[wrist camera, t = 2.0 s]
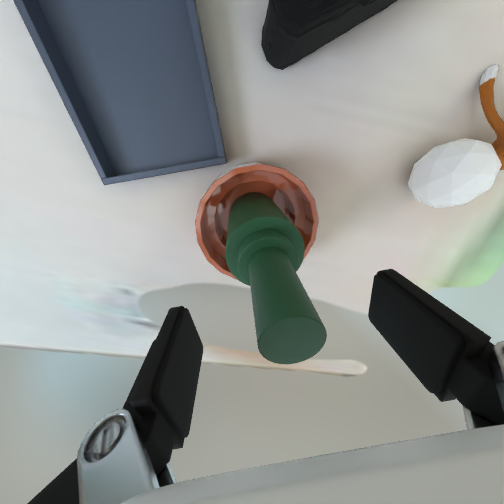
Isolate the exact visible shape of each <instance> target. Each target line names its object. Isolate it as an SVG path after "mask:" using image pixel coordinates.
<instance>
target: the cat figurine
mask: <svg viewBox="0 0 504 504" xmlns="http://www.w3.org/2000/svg"><path fill="white" fill-rule="evenodd" d="M498 68H499V65H497V64H494V65H491V66H490V67H489V68H488V69H487V70H486V71H485V72H484V73H483V75H482V77H481V80H480V86H479V92H480V100H481V105H482V108H483V111H484V114H485V116H486V118H487V120H488V122H489V124H490V125H491V127H492V128H493V129H494V131H495V132H496V134H497V140H496V141H495V142H493V143H492V144H489V143H486V142H483V141H479V140H474V139H467V138H462V139H459V140H456V141H452V142H449V143H445V144H442V145H439V146H435V147H434V148H432V149H431V150H430V151H429V152H428V153H427V154H425V155H424V156H423V157H422V158H421V159H420V160H419V161H417V162H416V163H415V164H414V166H413V169H412V172H411V175H410V178H409V181H408V186H409V188H410V190H411V192H412V194H413V196H414V198H415V200H417V201H420V202H422V203H425V204H427V205H430V206H432V207H435V208H440V207H448V206H456V205H463V204H466V203H468V202H469V201H471V200H472V199H474V198H476V197H477V196H479V195H480V194H482V193H484V192H485V191H487V190H488V189H490V188H491V187H492V185H493V183H494V181H495V178H496V176H497V174H498V172H499V171H500V170H503V169H504V122H503V121H502V119H501V118H500V117H499V115H498V113H497V112H496V110H495V106H494V95H493V86H494V81H495V78H496V75H497V73H498Z"/></svg>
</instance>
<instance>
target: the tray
mask: <svg viewBox="0 0 504 504" xmlns="http://www.w3.org/2000/svg"><path fill="white" fill-rule="evenodd" d="M13 1H14V3H15V5H16V7H17V9H18V11H19V13H20V15H21V17H22V19H23V21H24V23H25V25H26V27H27V29H28V31H29V33H30V35H31V37H32V39H33V41H34V43H35V45H36V48H37V50H38V52H39V54H40V56H41V58H42V60H43V62H44V64H45V66H46V68H47V70H48V72H49V74H50V76H51V78H52V80H53V82H54V84H55V86H56V88H57V90H58V92H59V94H60V96H61V98H62V100H63V102H64V104H65V107H66V109H67V111H68V113H69V115H70V117H71V119H72V121H73V123H74V125H75V127H76V129H77V131H78V133H79V135H80V137H81V139H82V141H83V143H84V145H85V147H86V149H87V151H88V153H89V155H90V157H91V159H92V161H93V164H94V166H95V168H96V170H97V172H98V174H99V176H100V178H101V180H102V182H103V184H104V185H108V184H114V183H119V182H125V181H130V180H136V179H142V178H147V177H153V176H159V175H164V174H170V173H175V172H181V171H187V170H192V169H198V168H204V167H209V166H215V165H220V164H226V163H227V159H226V154H225V149H224V144H223V139H222V134H221V129H220V124H219V119H218V114H217V109H216V104H215V99H214V93H213V88H212V83H211V78H210V73H209V68H208V63H207V58H206V53H205V48H204V43H203V38H202V33H201V28H200V23H199V18H198V12H197V7H196V2H195V0H13Z"/></svg>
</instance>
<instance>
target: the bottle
mask: <svg viewBox="0 0 504 504" xmlns="http://www.w3.org/2000/svg"><path fill="white" fill-rule="evenodd" d="M304 252H305V247H304V241H303V238H302V236H301V234H300V232H299V231H298V229H297V228H296V227H295V226H294V225H293V224H292V222H291V221H290V220H289V219H288V218H287V217H286V215H285V214H284V213H283V212H282V211H281V210H280V208H279V207H278V206H277V205H276V204H275V203H274V202H273V200H272V199H271V198H270V197H268V196H267V195H265V194H263V193H259V192H249V193H246V194H243V195H241V196H240V197H238V198H237V199H236V200H235V201H234V203H233V204H232V206H231V208H230V212H229V220H228V230H227V240H226V251H225V258H226V263H227V266H228V268H229V270H230V272H231V273H232V274H233V275H234V277H235V278H237V279H238V280H239V281H241V282H242V283H244V284H246V285H249V286H251V293H252V302H253V310H254V318H255V326H256V334H257V343H258V349H259V351H260V353H261V354H262V356H263V357H264V358H266V359H267V360H269V361H271V362H274V363H278V364H293V363H298V362H302V361H304V360H307V359H309V358H310V357H312V356H314V355H315V354H317V353H318V352H319V351H320V350H321V348H322V347H323V346H324V344H325V341H326V336H327V334H326V329H325V327H324V325H323V323H322V321H321V319H320V317H319V316H318V314H317V312H316V310H315V308H314V306H313V304H312V302H311V300H310V298H309V297H308V295H307V293H306V291H305V289H304V287H303V285H302V283H301V281H300V279H299V278H298V276H297V274H296V271H297V270H298V269H299V267H300V265H301V263H302V261H303V258H304Z"/></svg>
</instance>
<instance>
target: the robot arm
mask: <svg viewBox="0 0 504 504" xmlns="http://www.w3.org/2000/svg"><path fill="white" fill-rule="evenodd" d="M368 316H369V319H370V321H371V323H372V324H373V325H374V326H375V328H376V329H377V330H378V331H379V332H380V334H381V335H382V336H383V337H384V338H385V340H386V341H387V342H388V343H389V344H390V346H391V347H392V348H393V349H394V350H395V352H396V353H397V354H398V355H399V356H400V358H401V359H402V360H403V361H404V362H405V364H406V365H407V366H408V367H409V368H410V370H411V371H412V372H413V373H414V374H415V376H416V377H417V378H418V379H419V380H420V382H421V383H422V384H423V385H424V387H425V388H426V389H427V390H428V391H429V392H431V393H434V394H435V395H436V396H437V397H438V399H439V400H440V401H441V402H443V401H449V400H455V399H456V398H457V400H458V401H459V402H460V403H461V404H462V405H463V409H464V415H465V421H466V425H467V430H463V431H458V432H452V433H447V434H441V435H435V436H429V437H423V438H417V439H411V440H405V441H399V442H393V443H388V444H382V445H377V446H371V447H365V448H359V449H354V450H348V451H342V452H337V453H331V454H326V455H320V456H314V457H309V458H303V459H298V460H293V461H286V462H281V463H276V464H270V465H265V466H259V467H254V468H249V469H243V470H237V471H232V472H226V473H222V474H217V475H212V476H207V477H202V478H197V479H192V480H187V481H183V482H178V483H177V482H176V480H175V477H174V475H173V472H172V470H171V467H170V465H169V461H170V458H171V453H172V449H178V448H183V443H184V438H185V437H187V436H188V434H189V430H190V424H191V419H192V413H193V407H194V401H195V395H196V390H197V384H198V378H199V371H200V366H201V360H202V354H203V345H202V342H201V340H200V337H199V335H198V332H197V330H196V327H195V325H194V323H193V320H192V318H191V315H190V313H189V310H188V309H187V308H184V307H183V306H179V307H174V308H170V310H169V311H168V314H167V316H166V318H165V320H164V323H163V325H162V327H161V330H160V332H159V334H158V336H157V339H156V340H154V341H153V343H152V345H151V347H150V349H149V352H148V354H147V356H146V358H145V360H144V363H143V365H142V367H141V369H140V371H139V374H138V376H137V378H136V380H135V383H134V385H133V387H132V389H131V391H130V393H129V396H128V398H127V401H126V402H125V404H124V407H123V409H117V410H114V411H112V412H110V413H108V414H106V415H105V416H103V417H102V418H101V419H100V420H99V421H98V422H97V423H95V424H94V426H93V427H92V428H91V429H90V430H89V432H88V433H87V434H86V436H85V438H84V440H83V441H82V443H81V446H80V448H79V451H78V456H77V459H76V460H75V461H74V462H72V463H71V464H70V465H69V466H68V467H67V468H66V469H65V470H64V471H63V472H61V473H60V474H59V475H58V476H57V477H56V478H55V479H54V480H53V481H52V482H51V483H49V484H48V485H47V486H46V487H45V488H44V489H43V490H42V491H41V492H40V493H38V494H37V495H36V496H35V497H34V498H33V499H32V500H31V501H30V502H29V503H28V504H504V341H501V342H498V343H497V344H496V345H493V344H492V343H490V342H489V340H490V339H491V337H490V336H488V335H487V334H485V333H484V332H483V331H481V330H479V329H478V328H477V327H475V326H474V325H472V324H471V323H470V322H468V321H467V320H465V319H464V318H462V317H461V316H459V315H458V314H456V313H455V312H454V311H452V310H451V309H449V308H448V307H446V306H445V305H444V304H442V303H441V302H439V301H438V300H437V299H435V298H434V297H432V296H431V295H429V294H428V293H427V292H425V291H424V290H422V289H421V288H419V287H418V286H416V285H415V284H414V283H412V282H411V281H409V280H408V279H406V278H405V277H404V276H402V275H401V274H399V273H398V272H396V271H395V270H393V269H388V270H382V271H378V272H377V275H375V276H374V281H373V288H372V294H371V301H370V307H369V314H368Z"/></svg>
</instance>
